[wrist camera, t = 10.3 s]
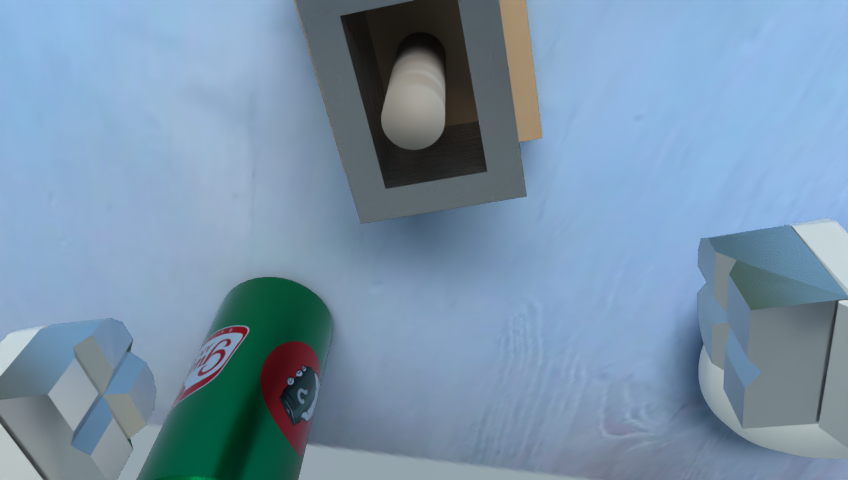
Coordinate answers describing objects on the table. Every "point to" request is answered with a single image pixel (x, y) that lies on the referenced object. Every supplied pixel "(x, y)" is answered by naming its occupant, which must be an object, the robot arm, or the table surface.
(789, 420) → the robot arm
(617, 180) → the table surface
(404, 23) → the block
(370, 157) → the grey hollow rectangular block
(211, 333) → the soda can
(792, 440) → the flower in vase
